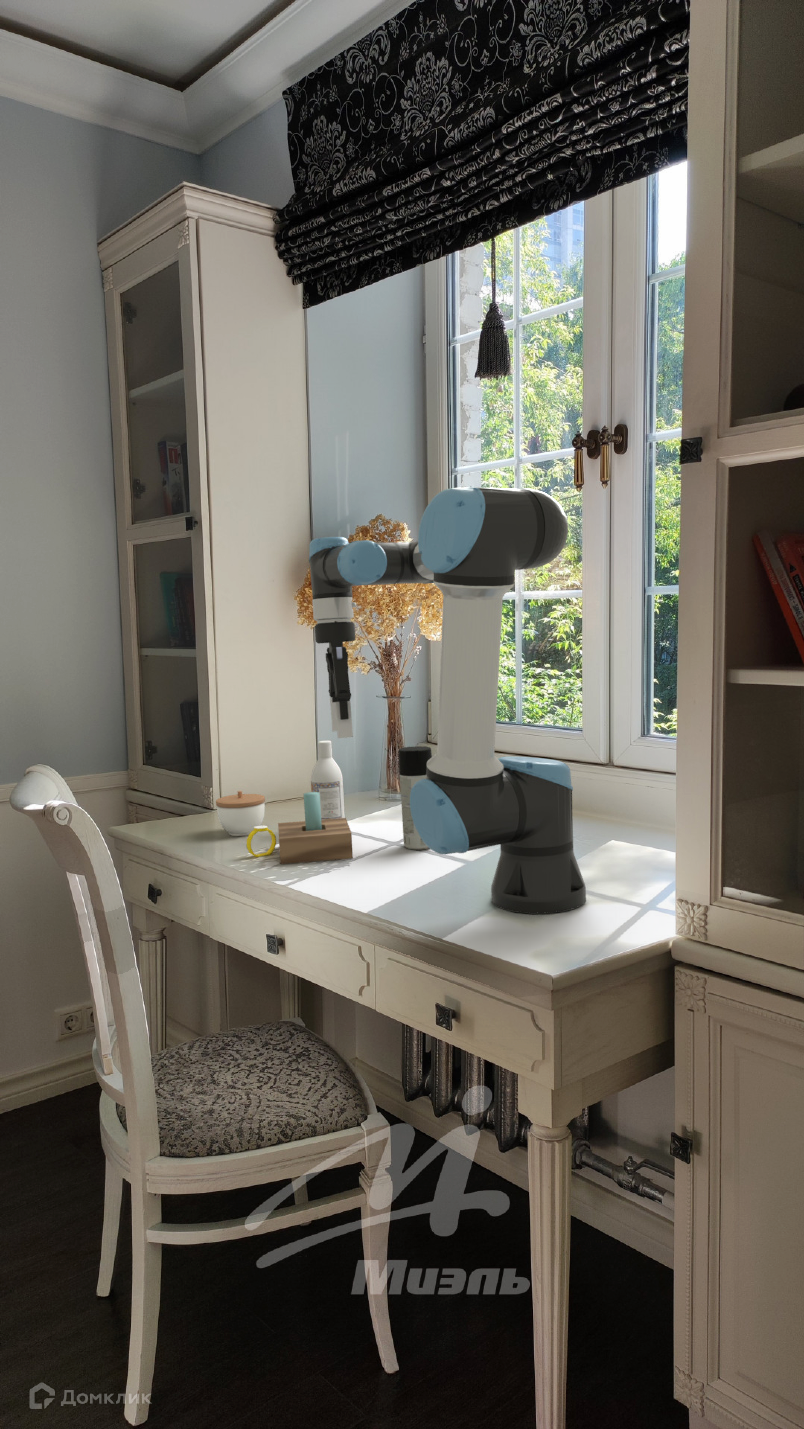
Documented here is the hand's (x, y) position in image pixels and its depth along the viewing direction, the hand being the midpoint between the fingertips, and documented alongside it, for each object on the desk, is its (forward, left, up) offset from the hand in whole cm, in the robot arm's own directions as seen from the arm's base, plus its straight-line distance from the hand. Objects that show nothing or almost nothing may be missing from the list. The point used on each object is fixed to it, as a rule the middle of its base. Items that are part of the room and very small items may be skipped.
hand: (342, 734), depth 183 cm
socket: (+10, +6, -25) cm, 27 cm away
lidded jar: (+33, +21, -25) cm, 46 cm away
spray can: (+8, -15, -25) cm, 30 cm away
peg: (+9, +6, -25) cm, 27 cm away
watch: (+11, +17, -25) cm, 32 cm away
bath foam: (+27, +2, -25) cm, 36 cm away
